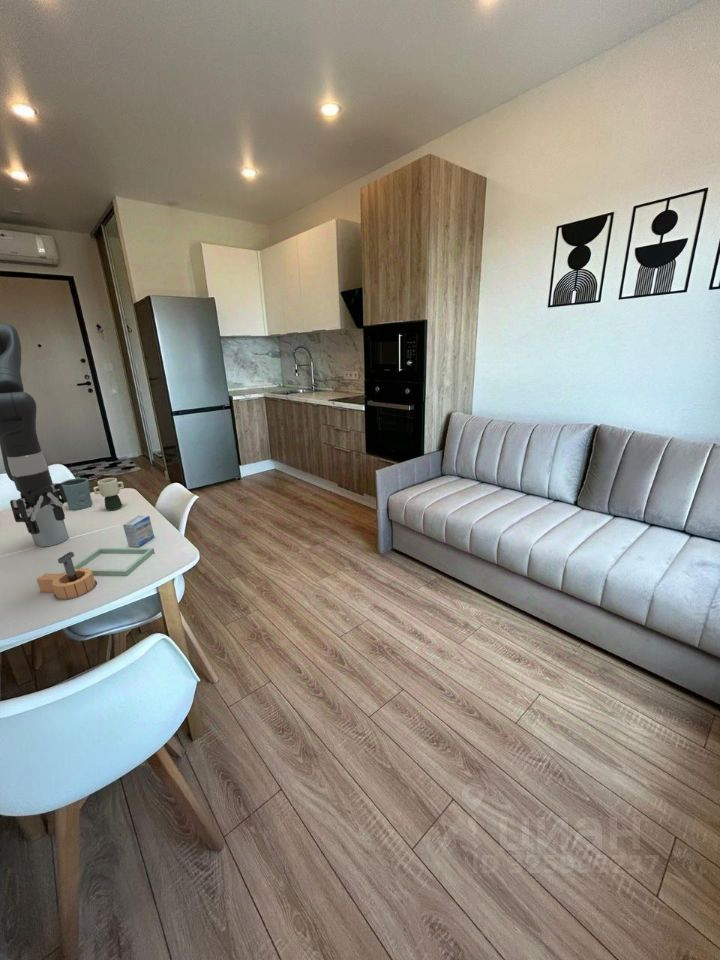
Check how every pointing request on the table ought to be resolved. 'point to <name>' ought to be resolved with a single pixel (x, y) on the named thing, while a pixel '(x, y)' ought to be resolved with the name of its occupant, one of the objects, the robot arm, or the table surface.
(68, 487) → the teal pot
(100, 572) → the green rhombus frame
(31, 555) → the table surface
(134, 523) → the medicine box
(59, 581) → the ring
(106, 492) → the character mug
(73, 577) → the metal post stand
